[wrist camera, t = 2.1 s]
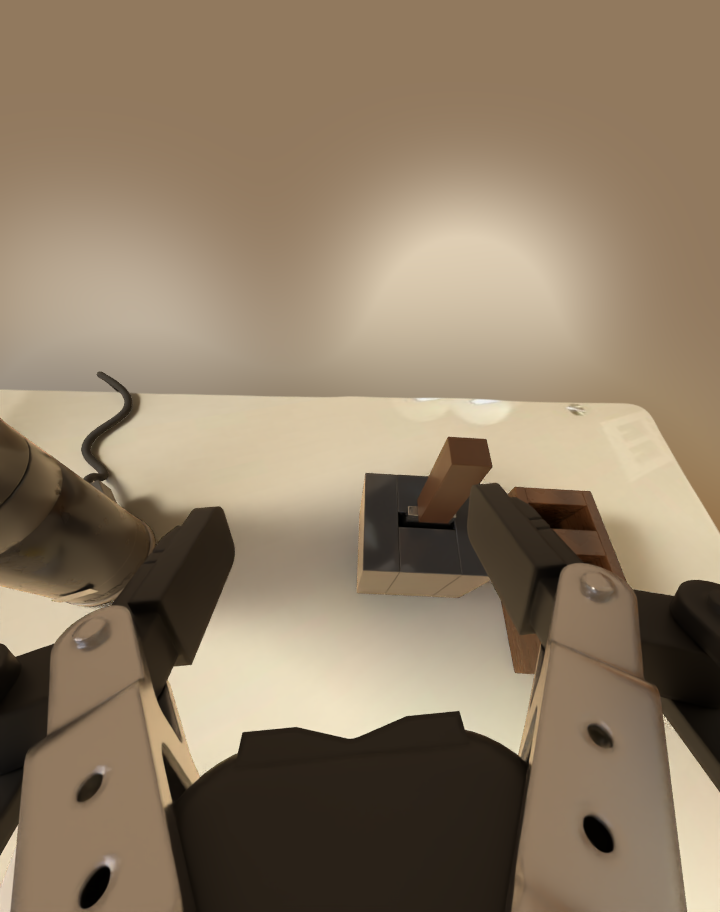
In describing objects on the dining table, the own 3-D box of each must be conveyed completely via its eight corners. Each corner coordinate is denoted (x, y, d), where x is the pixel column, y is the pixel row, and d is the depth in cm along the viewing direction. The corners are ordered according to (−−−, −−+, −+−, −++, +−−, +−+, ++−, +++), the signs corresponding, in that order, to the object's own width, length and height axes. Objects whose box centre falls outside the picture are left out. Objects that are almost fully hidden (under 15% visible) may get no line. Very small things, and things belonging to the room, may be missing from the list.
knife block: (356, 593, 34) (362, 570, 26) (359, 513, 39) (365, 472, 31) (459, 598, 34) (498, 576, 26) (449, 518, 39) (479, 479, 31)
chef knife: (388, 561, 36) (437, 463, 18) (388, 543, 37) (434, 435, 20) (424, 563, 36) (506, 467, 19) (422, 545, 37) (499, 439, 20)
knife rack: (514, 672, 31) (563, 675, 24) (484, 516, 40) (514, 486, 33) (595, 675, 31) (665, 679, 25) (548, 520, 40) (590, 491, 33)
